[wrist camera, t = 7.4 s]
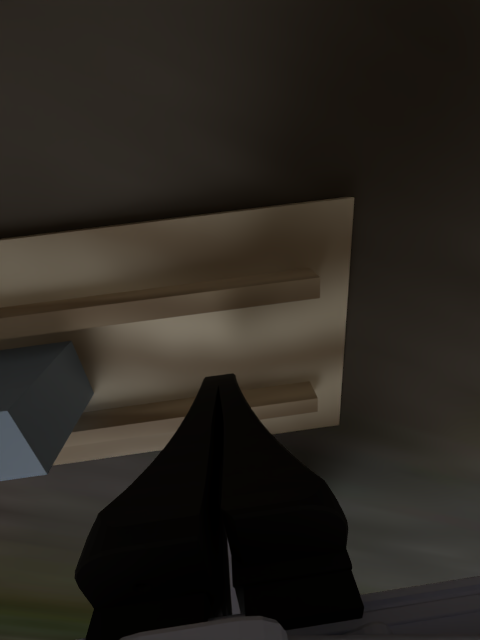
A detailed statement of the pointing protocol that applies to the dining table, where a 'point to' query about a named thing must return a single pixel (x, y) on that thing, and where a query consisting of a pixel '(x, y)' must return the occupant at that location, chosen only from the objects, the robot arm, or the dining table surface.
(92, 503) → the dining table surface
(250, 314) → the shelf slot
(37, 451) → the blue-grey rectangular block
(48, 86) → the dining table surface
